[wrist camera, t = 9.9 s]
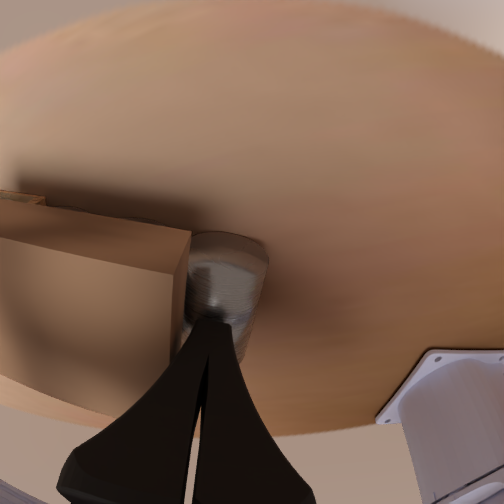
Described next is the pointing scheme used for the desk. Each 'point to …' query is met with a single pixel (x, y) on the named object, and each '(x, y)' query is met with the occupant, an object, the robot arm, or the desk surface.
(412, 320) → the desk surface
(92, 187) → the desk surface
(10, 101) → the desk surface
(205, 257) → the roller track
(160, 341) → the slab
